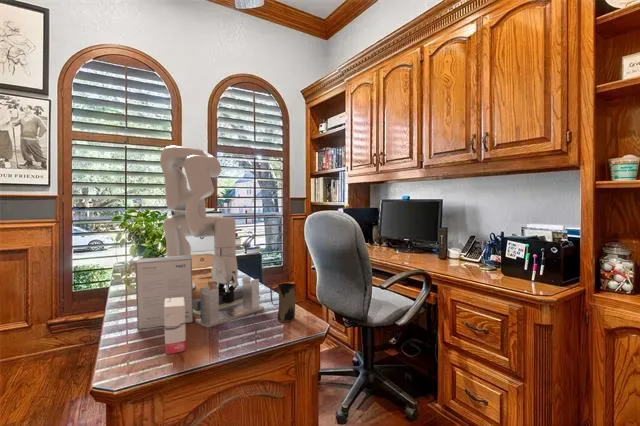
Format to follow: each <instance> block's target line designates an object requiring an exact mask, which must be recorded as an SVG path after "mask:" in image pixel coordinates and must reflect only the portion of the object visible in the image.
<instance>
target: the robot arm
mask: <svg viewBox="0 0 640 426" xmlns="http://www.w3.org/2000/svg"><path fill="white" fill-rule="evenodd" d="M159 160H160V163H159V164H160V167H161V170H162V173H163V178H164V187H165V189H164V190H165V202H166V204H165V205H166V206H167V209H168V210H169V211H171V212H184V213H183V214H172V215H170V216H167V217H166V218H165V219H164V221H163V231H164V237H165V243H166V244H165V246H166V247H165V248H166V257H172V256H187V255H191V256H192V248H191V244H190V242H189V241H188V239H187V237H195V238H206V237H207V238H208V237H213V238H214V239H213V243H214V245H213V246H214V249H213V250H214V251H213V252H214V255H213V257H212V265H211V268H212V269H211V279H212V281H213V282H214V283H215V285H216V286H215V289H219V293H222V292H226V291H227V292H226V303H230V302H233V301H234V291H235V289H237V287H238V286H239V284H240V283H239V280H238V276H239V275H238V272H239V271H238V270H239V269H238V260H237V255H236V254H237V245H236V243H237V241H236V237H237V235H236V232H237V231H236V229H237V228H236V226H237V225H236V220H235V218H233V217H224V216H220V215H217V216H216V215H213V216H212V215H211V216H207V209H206V198H208V197H210V196H212V195H213V194H214V193H215V188H214V184H213V182H212V179H211V178H218V177H219V176H220V174H221V171H222V166H221V162H220V161H219V159H218V158H217V157H216V156H213V154H211V153H208V151H205V150H203V149H200V148H194V147H192V148H191V147H187V146H180V145H168V146H166V147H164V148H163V149H162V151H161V153H160V159H159ZM180 168H184V172H185V173H184V172H183V171H182V170H181V169H180ZM185 174H186V175H185ZM188 186H189V189H188ZM195 288H196V283H194V282H192V290H194V289H195Z"/></svg>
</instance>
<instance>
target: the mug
mask: <svg viewBox="0 0 640 426" xmlns="http://www.w3.org/2000/svg"><path fill="white" fill-rule="evenodd" d="M273 285H277V289H278V303H275V304H274V303H273V292H272V291H273V288H272V287H273ZM269 289H270V290H269V292H270V300H271V304H272V306H275V307H276V306H278V308H277V309H278V311H277V321H278V322H280V323H293V322H295V319H296V317H295V316H296V293H295V292H296V291H295V284H294V283H291V282H289V283H288V282H285V283H284V282H283V283H278V282H273V283H271V284H270V286H269Z"/></svg>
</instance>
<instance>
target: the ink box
mask: <svg viewBox="0 0 640 426" xmlns="http://www.w3.org/2000/svg"><path fill="white" fill-rule="evenodd" d="M164 303H165V304H164V307H165V308H164V325H165V326H164V348H165V349H164V350H165V351H164V352H165V355H170V354H176V353H182V352H185V351H187V348H186V341H187V339H186V337H187V336H186V334H187V333H186V327H187V326H186V323H185V302H184V297H177V298H166V299H165V302H164Z"/></svg>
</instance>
